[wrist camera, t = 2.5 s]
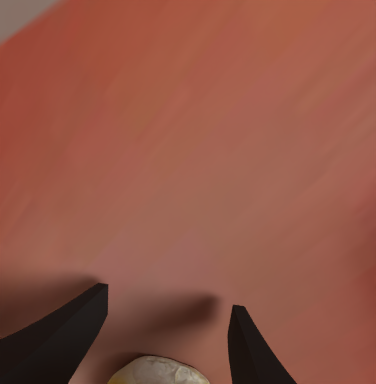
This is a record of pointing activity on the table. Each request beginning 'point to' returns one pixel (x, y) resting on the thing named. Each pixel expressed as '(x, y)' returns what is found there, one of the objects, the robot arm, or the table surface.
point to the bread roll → (157, 372)
